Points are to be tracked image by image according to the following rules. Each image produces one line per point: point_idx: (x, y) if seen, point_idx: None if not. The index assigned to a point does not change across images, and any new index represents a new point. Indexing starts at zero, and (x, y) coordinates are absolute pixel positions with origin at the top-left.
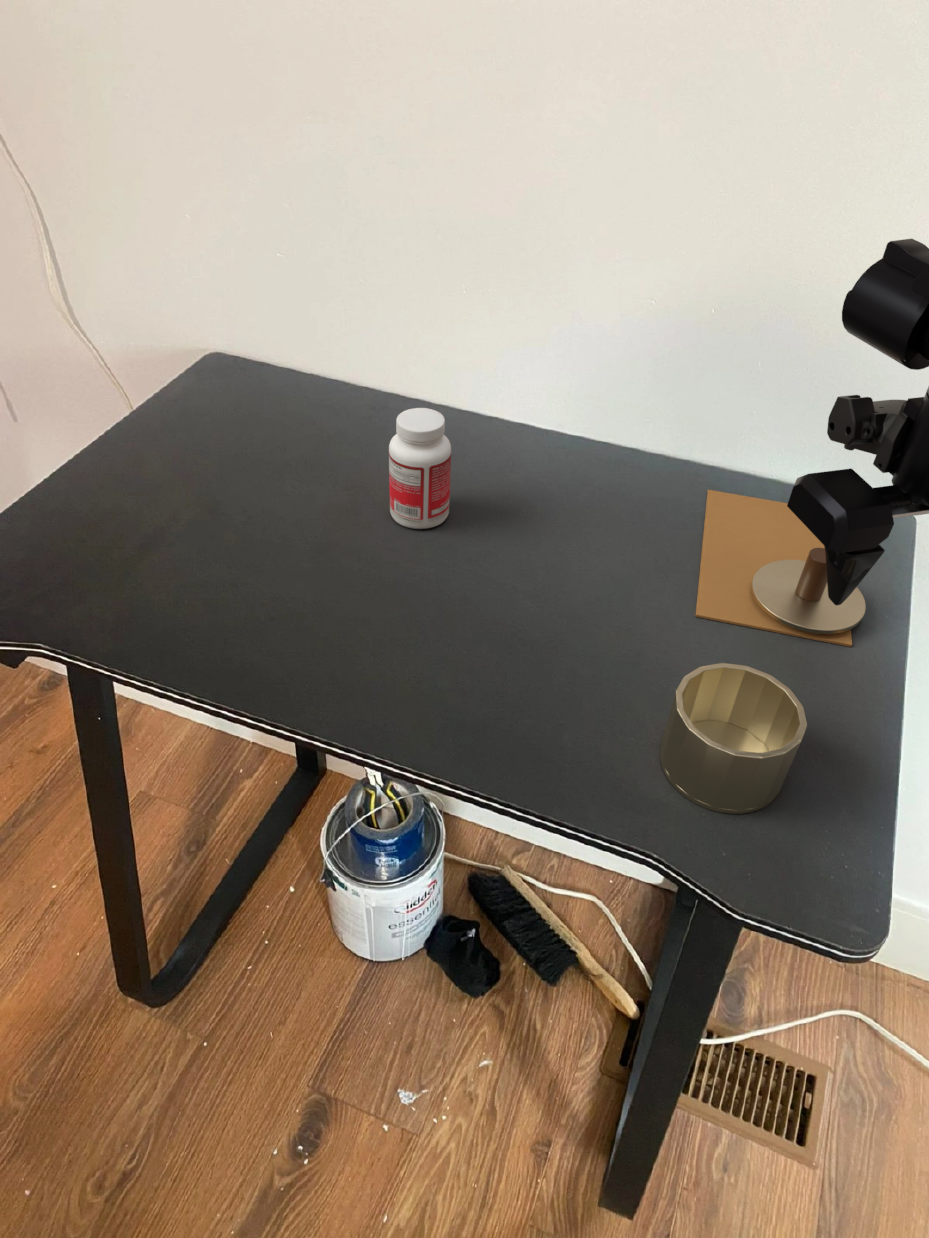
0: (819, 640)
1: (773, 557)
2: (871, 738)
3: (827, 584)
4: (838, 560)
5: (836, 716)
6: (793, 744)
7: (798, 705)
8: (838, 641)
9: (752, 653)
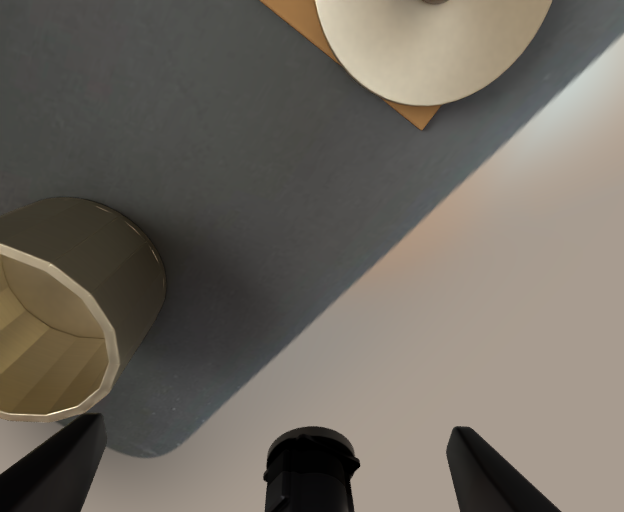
0: None
1: None
2: (312, 292)
3: (42, 443)
4: None
5: (292, 249)
6: (69, 415)
7: (112, 361)
8: (405, 114)
9: (239, 84)
